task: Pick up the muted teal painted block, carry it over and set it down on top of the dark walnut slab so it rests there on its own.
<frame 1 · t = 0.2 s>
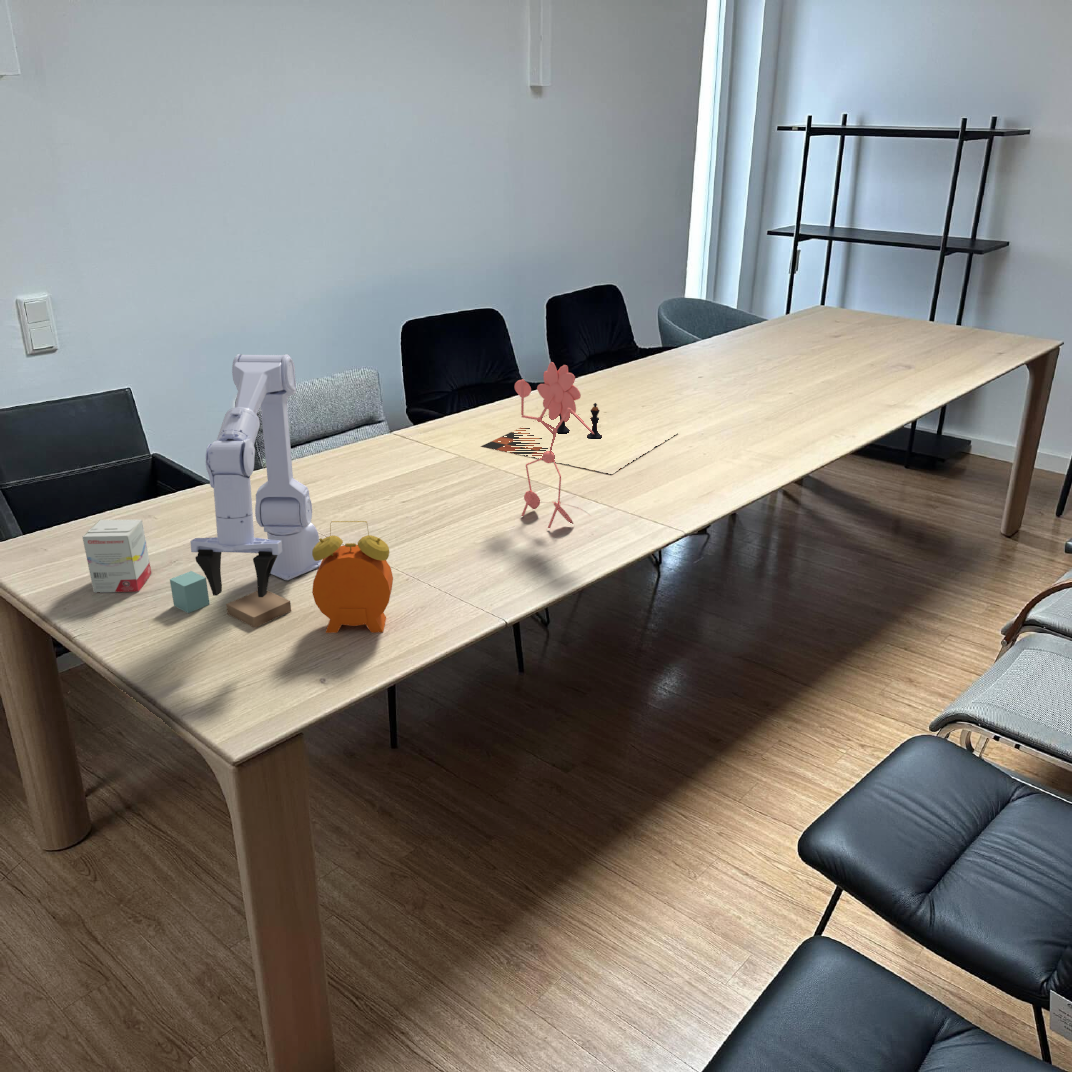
hand: (239, 594, 161), 10 cm above the table, tool pointing down, fingers open, 7 cm apart
walnut slab: (259, 614, 178), on the table
teal block: (191, 605, 180), on the table
figurine: (557, 518, 219), on the table
alarm clock: (356, 625, 174), on the table
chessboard: (581, 443, 270), on the table
ink box: (123, 583, 188), on the table
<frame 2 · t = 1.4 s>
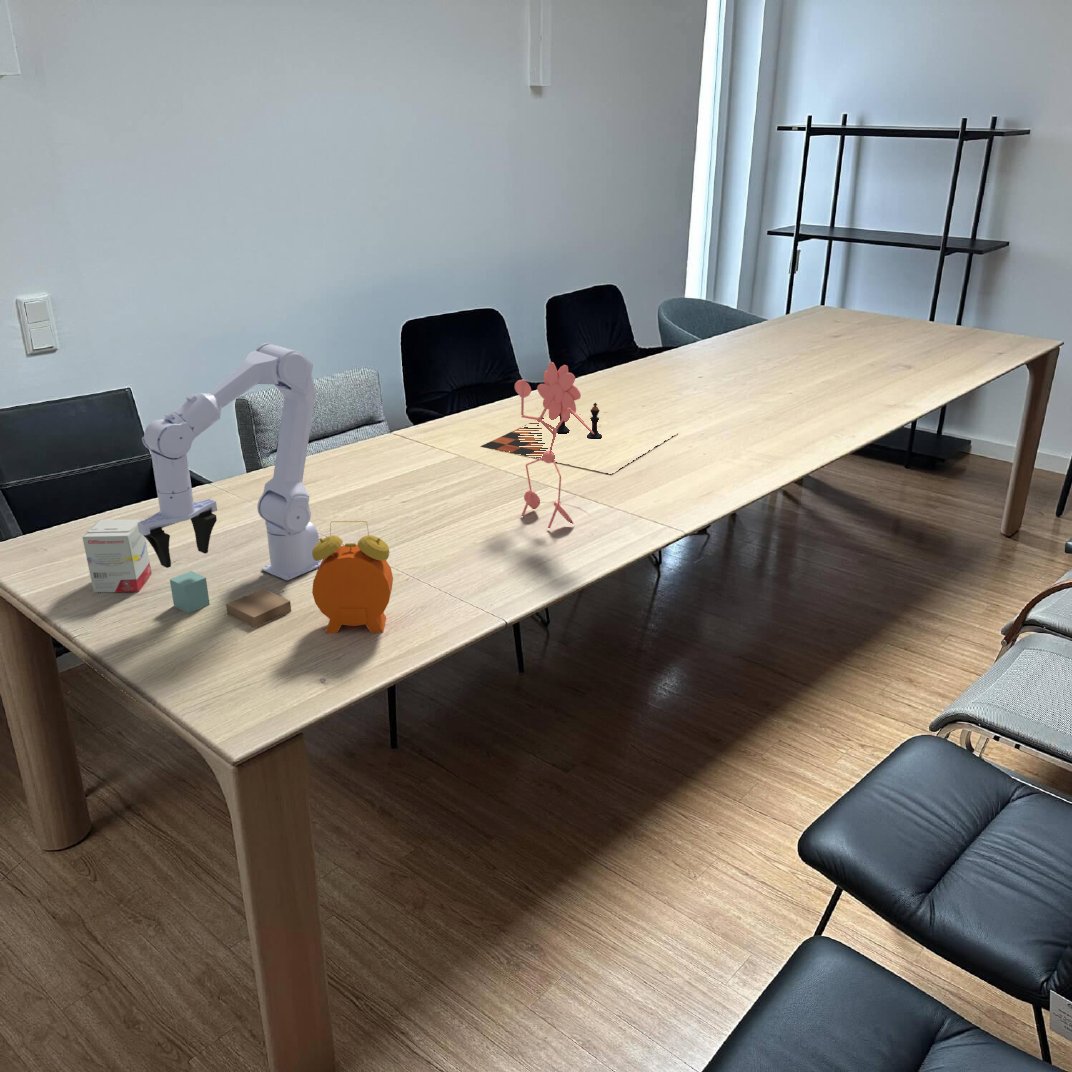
hand: (184, 558, 176), 9 cm above the table, tool pointing down, fingers open, 7 cm apart
nothing on the table moved.
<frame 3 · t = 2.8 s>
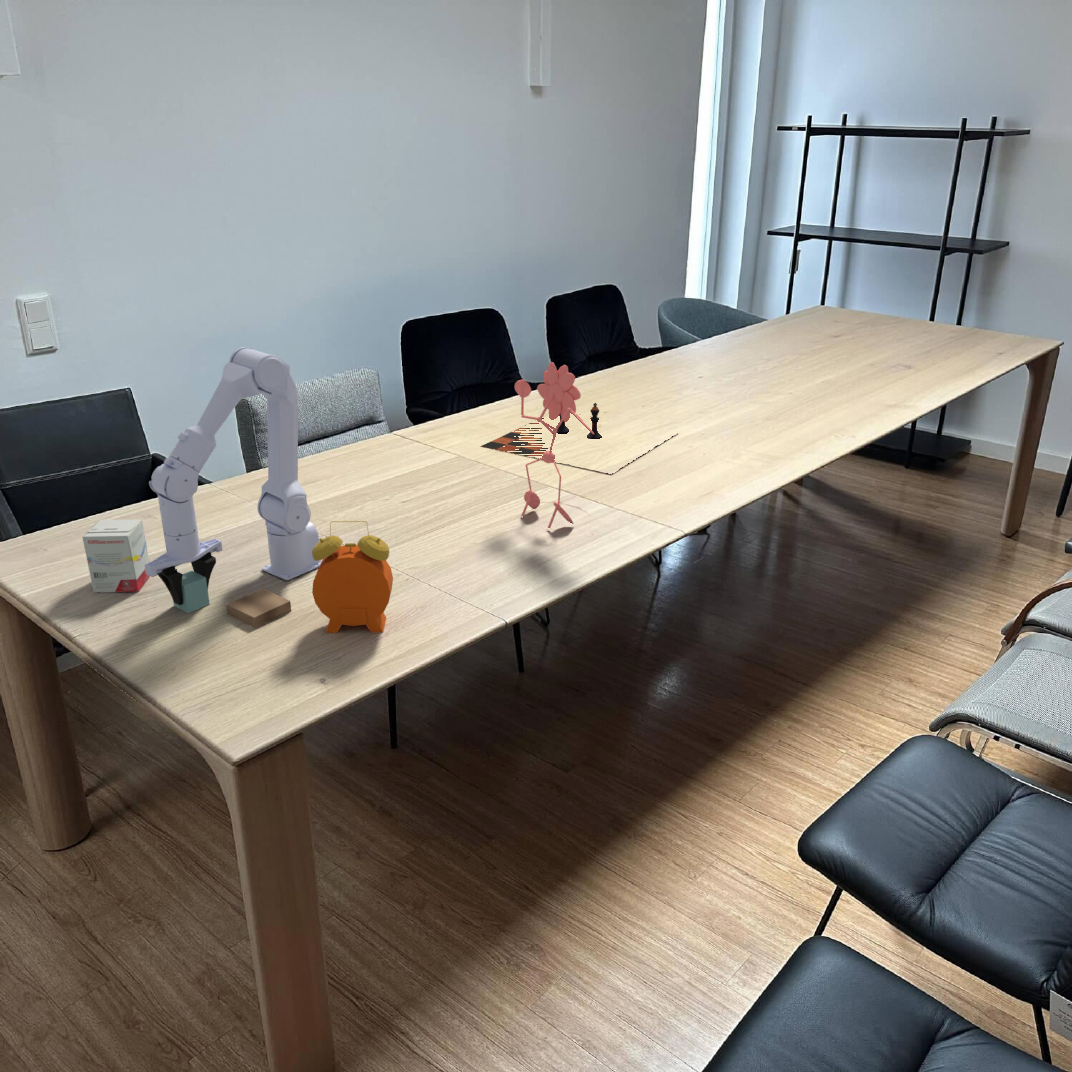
hand: (190, 598, 179), 1 cm above the table, tool pointing down, fingers closed on teal block, 4 cm apart
teal block: (191, 604, 180), on the table, touching gripper
everything else where it was.
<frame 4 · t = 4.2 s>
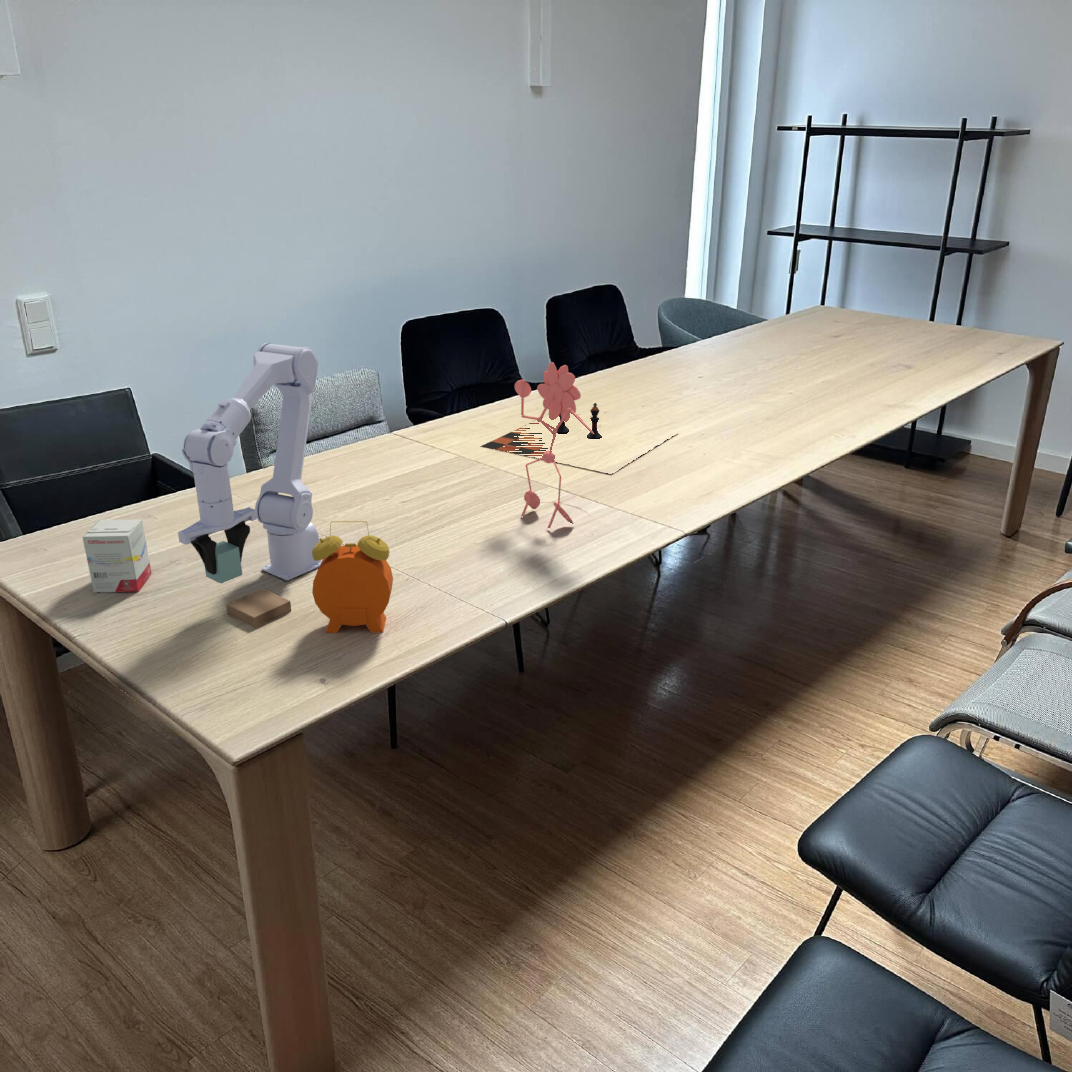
hand: (224, 567, 175), 8 cm above the table, tool pointing down, fingers closed on teal block, 4 cm apart
teal block: (224, 575, 176), point 7 cm above the table, touching gripper
everything else where it was.
when the fingers open (5 cm above the table, at t = 5.6 s): teal block drops 1 cm, point 2 cm above the table.
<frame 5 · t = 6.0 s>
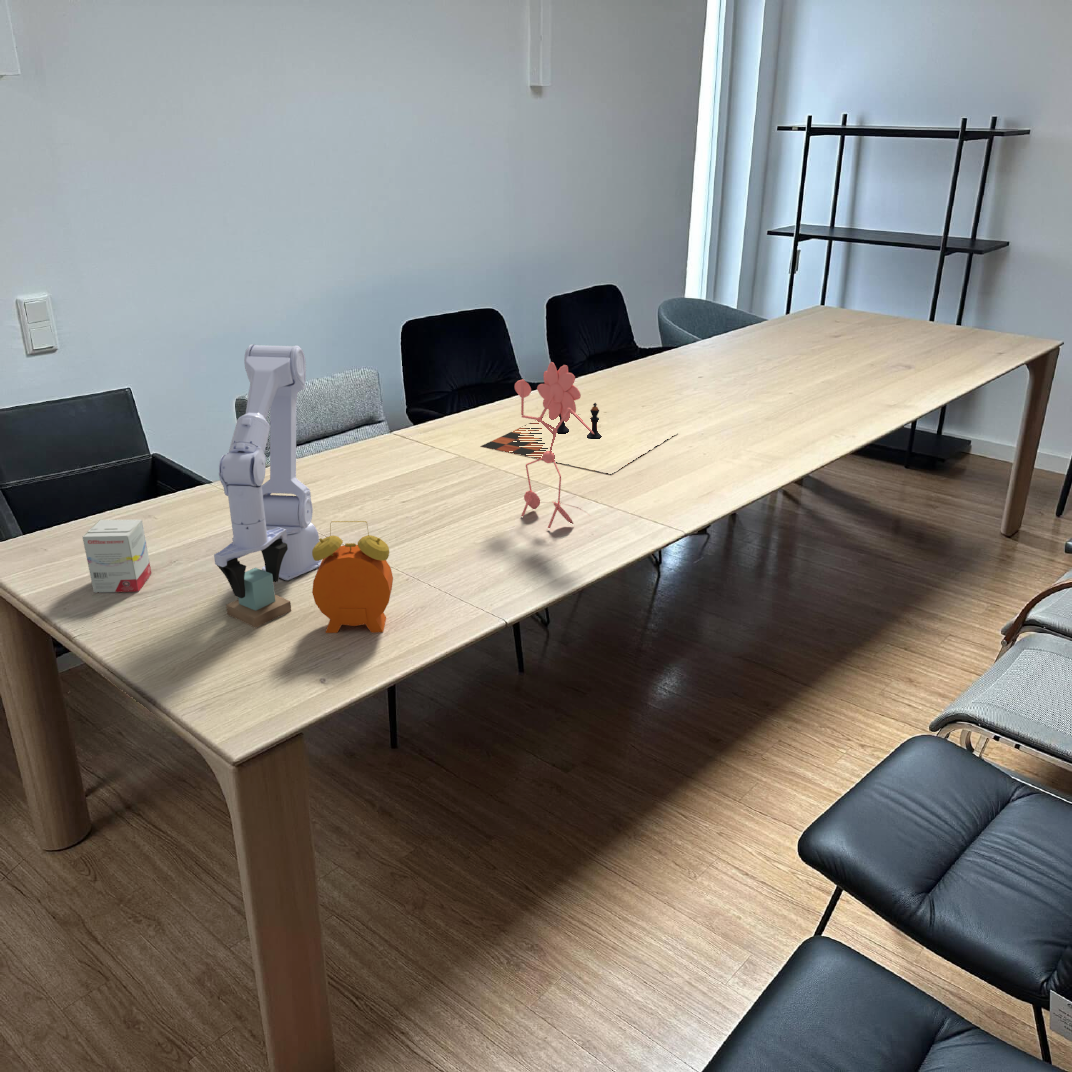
hand: (256, 588, 175), 5 cm above the table, tool pointing down, fingers open, 7 cm apart
teal block: (257, 602, 177), point 2 cm above the table
everything else where it was.
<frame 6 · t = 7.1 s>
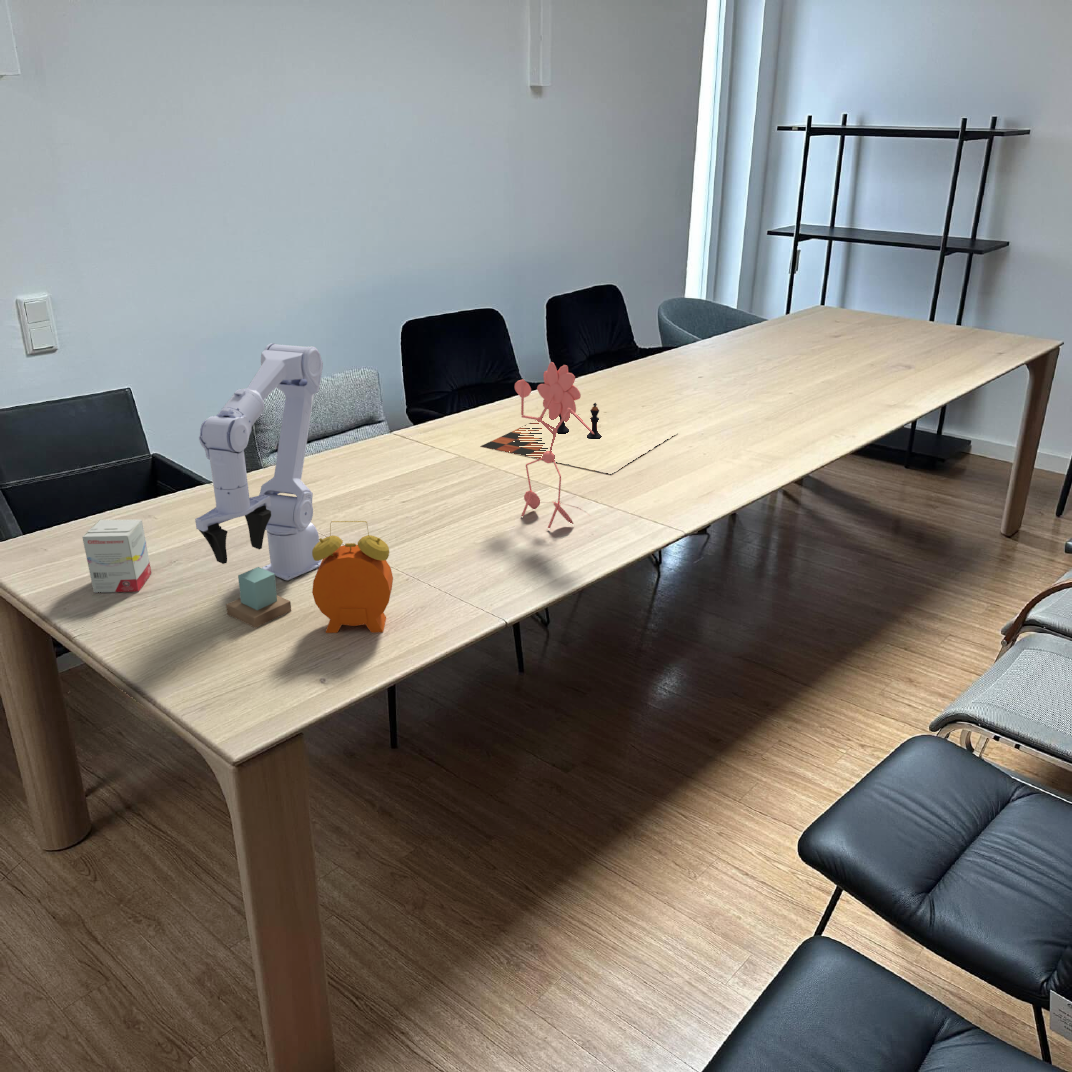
hand: (239, 554, 175), 10 cm above the table, tool pointing down, fingers open, 7 cm apart
walnut slab: (259, 614, 178), on the table, touching teal block
teal block: (259, 601, 177), point 2 cm above the table, touching walnut slab
everything else where it was.
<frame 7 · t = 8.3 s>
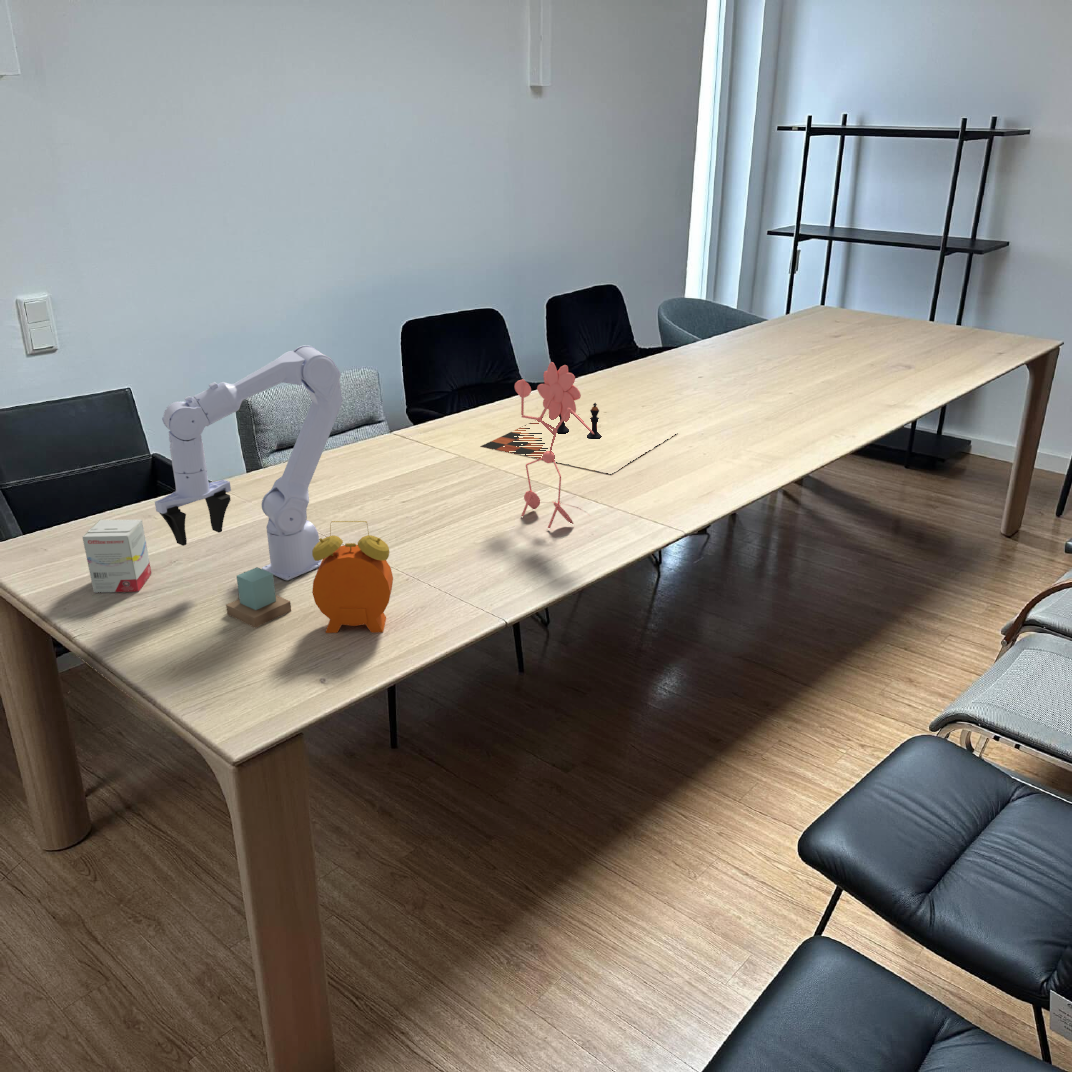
hand: (199, 537, 182), 10 cm above the table, tool pointing down, fingers open, 7 cm apart
walnut slab: (259, 615, 178), on the table
teal block: (258, 602, 177), point 2 cm above the table
everything else where it was.
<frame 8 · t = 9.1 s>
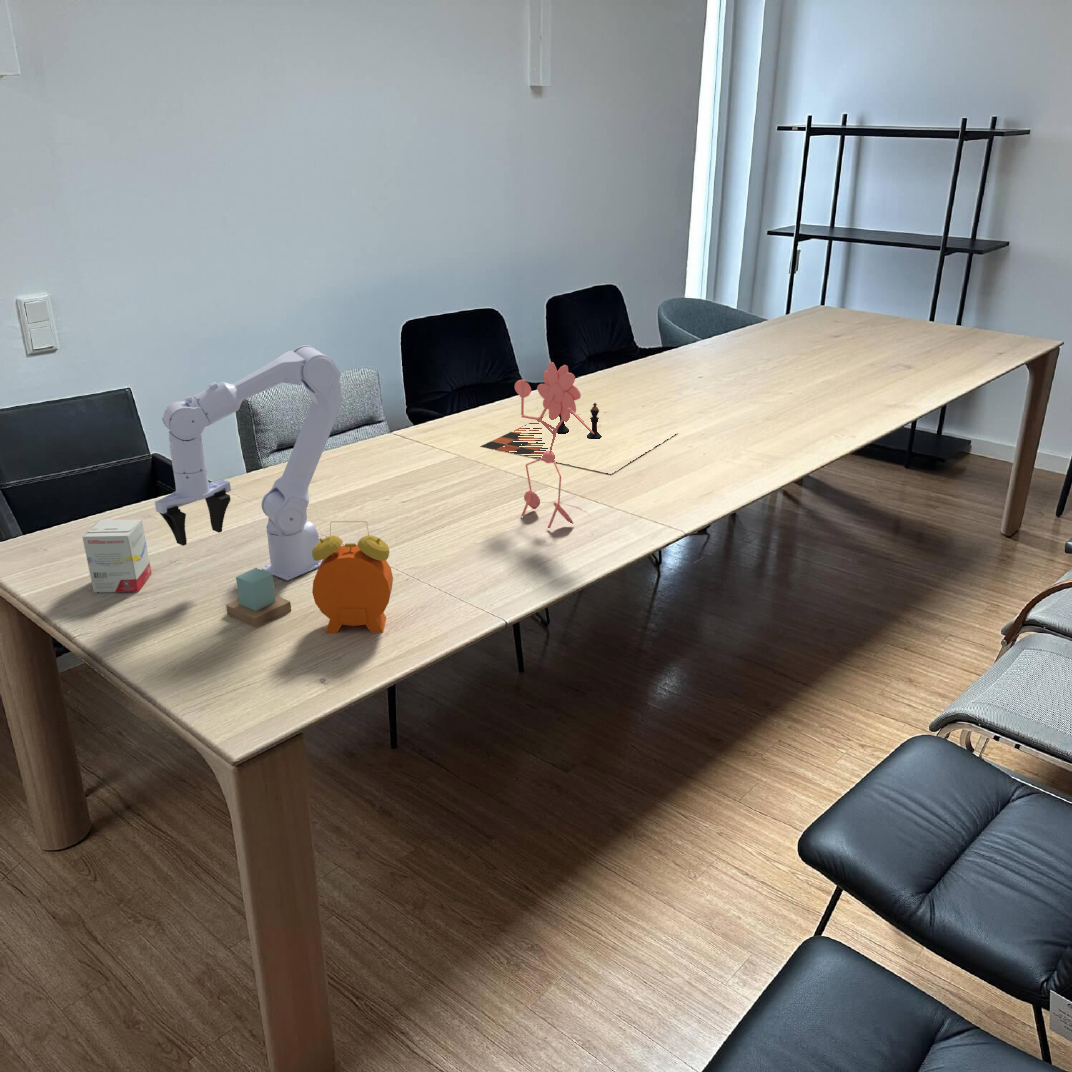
hand: (199, 537, 182), 10 cm above the table, tool pointing down, fingers open, 7 cm apart
walnut slab: (259, 615, 178), on the table, touching teal block
teal block: (257, 602, 177), point 2 cm above the table, touching walnut slab
everything else where it was.
at the end: teal block 0.1 cm off-centre on the walnut slab, point 2.5 cm above the walnut slab's base; teal block tilted 1°; the gripper is holding nothing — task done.
